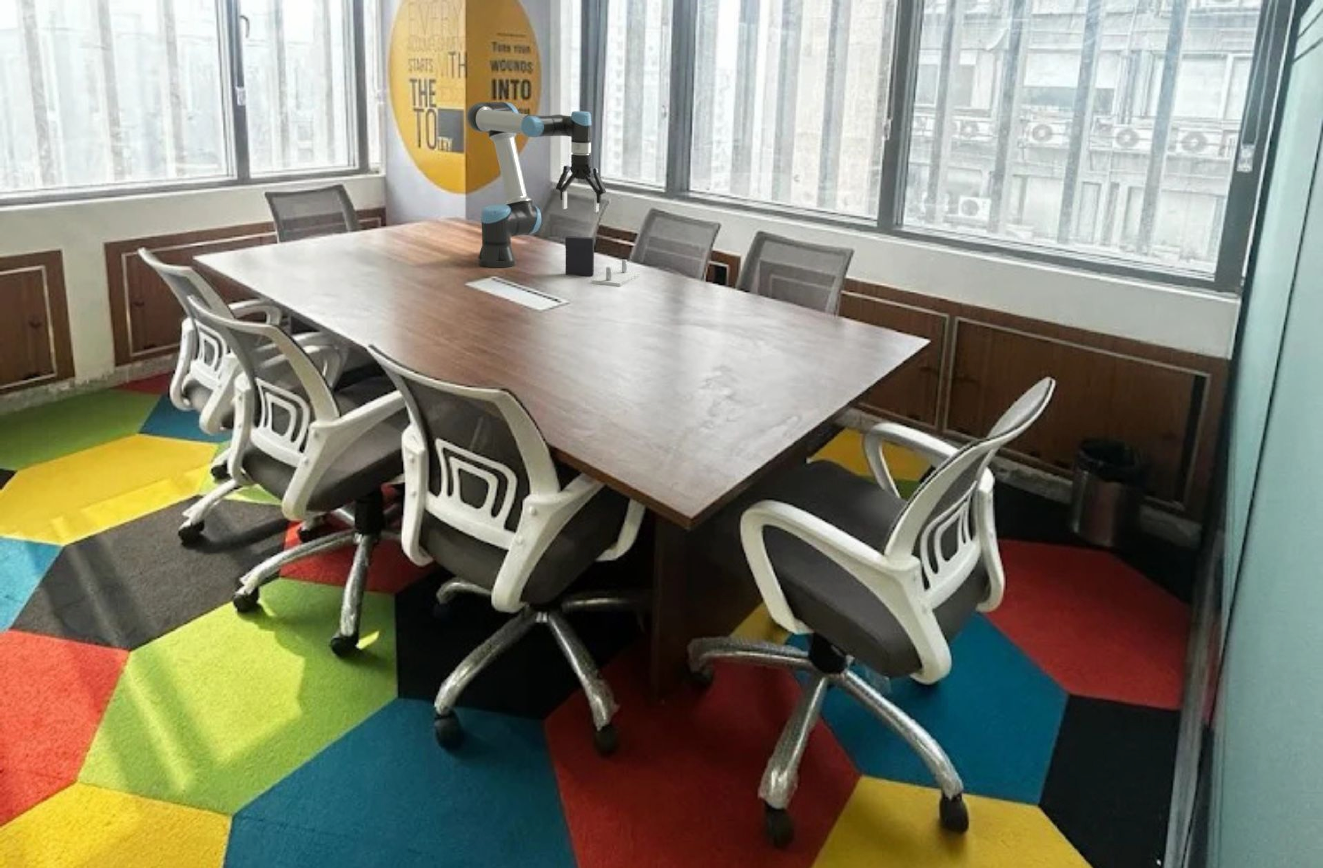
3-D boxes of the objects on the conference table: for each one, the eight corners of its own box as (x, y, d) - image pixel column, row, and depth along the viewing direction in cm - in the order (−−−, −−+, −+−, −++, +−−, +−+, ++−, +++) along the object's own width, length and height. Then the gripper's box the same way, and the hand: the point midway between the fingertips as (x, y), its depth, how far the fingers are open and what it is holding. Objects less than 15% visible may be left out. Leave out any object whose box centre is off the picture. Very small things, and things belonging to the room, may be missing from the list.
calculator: (594, 274, 386) (594, 237, 380) (592, 276, 382) (592, 239, 376) (567, 272, 387) (567, 235, 381) (565, 275, 383) (565, 237, 377)
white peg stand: (591, 283, 372) (591, 267, 369) (613, 272, 391) (613, 257, 389) (619, 286, 368) (620, 270, 366) (640, 275, 387) (641, 260, 385)
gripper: (547, 152, 368) (547, 208, 375) (607, 157, 360) (606, 214, 368) (555, 151, 374) (555, 206, 382) (614, 155, 367) (613, 211, 374)
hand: (580, 210), depth 375 cm, fingers open, 13 cm apart
